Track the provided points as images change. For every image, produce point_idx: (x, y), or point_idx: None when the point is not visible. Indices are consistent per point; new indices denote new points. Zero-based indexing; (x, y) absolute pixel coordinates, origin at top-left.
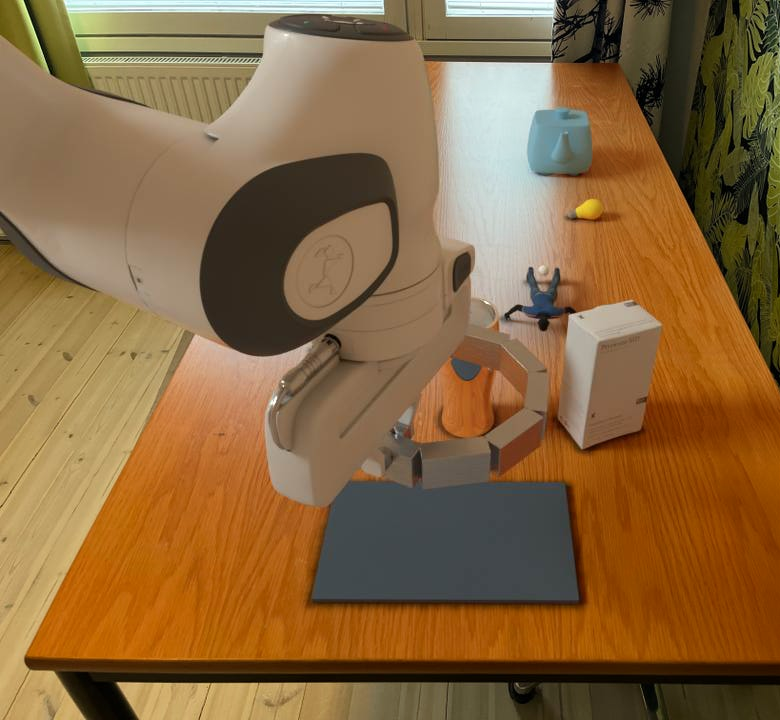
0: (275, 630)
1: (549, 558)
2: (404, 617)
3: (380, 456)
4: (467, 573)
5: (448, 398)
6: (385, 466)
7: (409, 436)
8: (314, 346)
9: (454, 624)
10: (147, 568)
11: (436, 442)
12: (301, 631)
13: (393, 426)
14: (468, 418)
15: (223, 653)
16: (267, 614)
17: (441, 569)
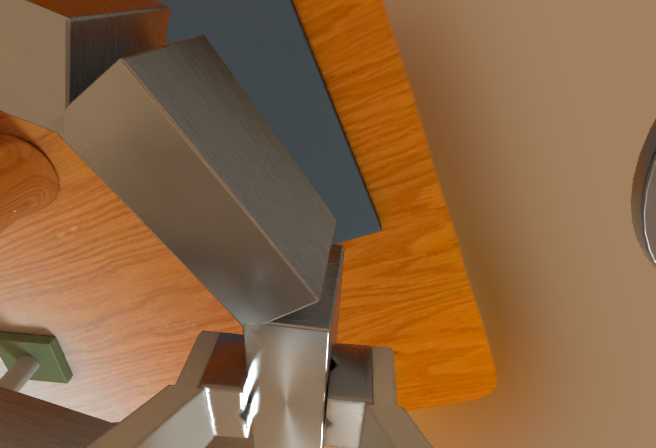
0: (426, 243)
1: None
2: (360, 115)
3: (400, 432)
4: (264, 57)
5: (6, 221)
6: (372, 366)
7: (223, 349)
8: (66, 380)
9: (345, 42)
10: (399, 370)
11: (210, 286)
12: (419, 219)
13: (234, 418)
14: (16, 175)
15: (465, 274)
16: (410, 259)
17: (275, 98)
